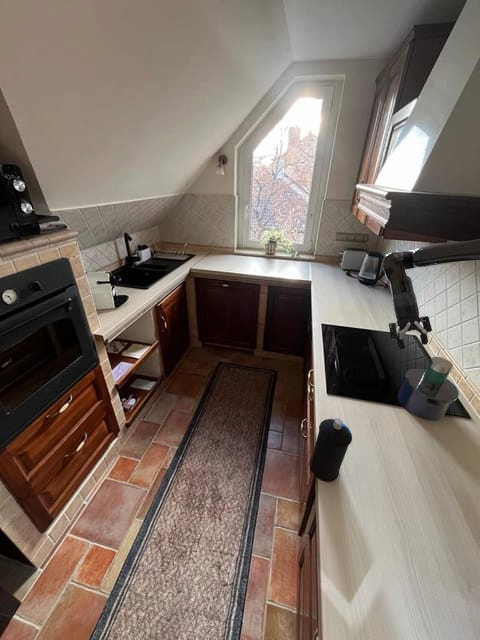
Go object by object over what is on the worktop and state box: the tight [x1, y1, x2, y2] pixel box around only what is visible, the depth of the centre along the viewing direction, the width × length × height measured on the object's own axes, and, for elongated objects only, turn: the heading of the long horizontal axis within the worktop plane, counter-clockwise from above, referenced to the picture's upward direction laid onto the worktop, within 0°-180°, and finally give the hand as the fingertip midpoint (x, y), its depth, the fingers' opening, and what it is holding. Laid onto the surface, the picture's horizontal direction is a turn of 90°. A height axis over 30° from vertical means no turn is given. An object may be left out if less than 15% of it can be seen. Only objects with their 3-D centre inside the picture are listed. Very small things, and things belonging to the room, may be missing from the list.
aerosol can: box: [309, 417, 353, 483], centre depth 68 cm, size 8×8×20 cm
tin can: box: [421, 356, 454, 389], centre depth 87 cm, size 6×6×10 cm
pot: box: [397, 368, 460, 421], centre depth 92 cm, size 16×18×10 cm
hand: (413, 346), depth 95 cm, fingers open, 8 cm apart
